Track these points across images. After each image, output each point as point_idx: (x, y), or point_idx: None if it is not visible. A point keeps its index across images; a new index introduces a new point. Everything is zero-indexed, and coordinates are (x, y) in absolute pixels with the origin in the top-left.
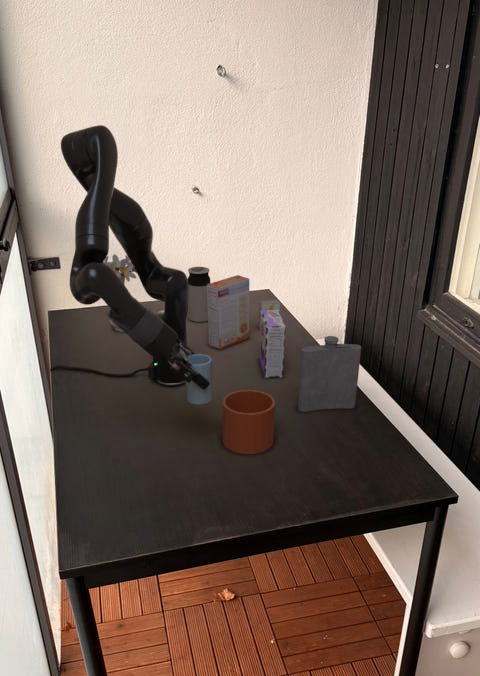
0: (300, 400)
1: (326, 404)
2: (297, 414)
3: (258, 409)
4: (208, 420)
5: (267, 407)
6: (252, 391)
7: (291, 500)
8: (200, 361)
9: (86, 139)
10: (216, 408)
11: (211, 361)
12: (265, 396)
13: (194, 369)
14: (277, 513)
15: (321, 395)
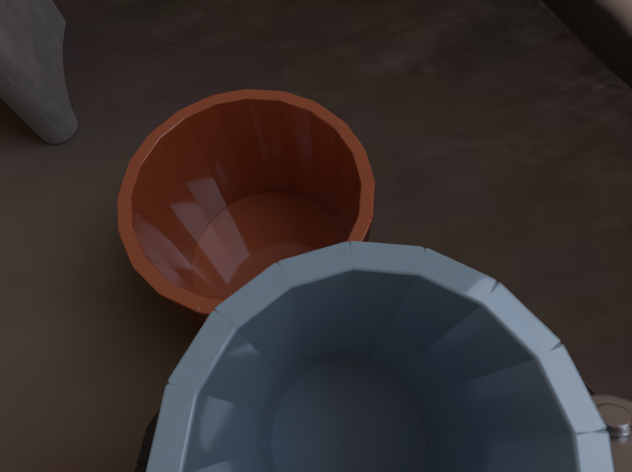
0: (48, 112)
1: (55, 62)
2: (93, 142)
3: (174, 205)
4: (130, 444)
5: (197, 156)
6: (134, 189)
7: (555, 116)
8: (212, 453)
9: None
10: (26, 429)
11: (360, 247)
12: (171, 138)
13: (626, 461)
14: (625, 140)
15: (36, 49)
